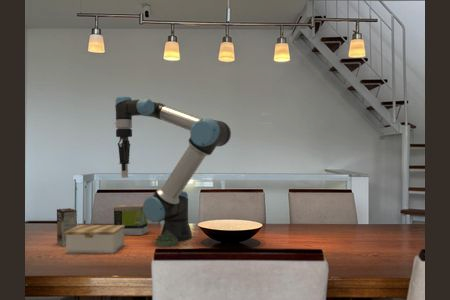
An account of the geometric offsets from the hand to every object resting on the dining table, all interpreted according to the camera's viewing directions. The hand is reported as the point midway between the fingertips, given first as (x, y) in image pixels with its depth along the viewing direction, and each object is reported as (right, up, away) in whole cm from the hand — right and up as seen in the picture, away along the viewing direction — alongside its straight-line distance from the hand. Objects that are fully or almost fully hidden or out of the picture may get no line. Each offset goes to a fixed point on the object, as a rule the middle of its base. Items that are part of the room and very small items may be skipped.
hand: (124, 177), depth 185 cm
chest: (-8, -30, -18) cm, 36 cm away
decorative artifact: (+22, -30, -11) cm, 39 cm away
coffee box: (-25, -31, -7) cm, 40 cm away
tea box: (-1, -31, +15) cm, 34 cm away
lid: (-8, -23, -19) cm, 31 cm away
